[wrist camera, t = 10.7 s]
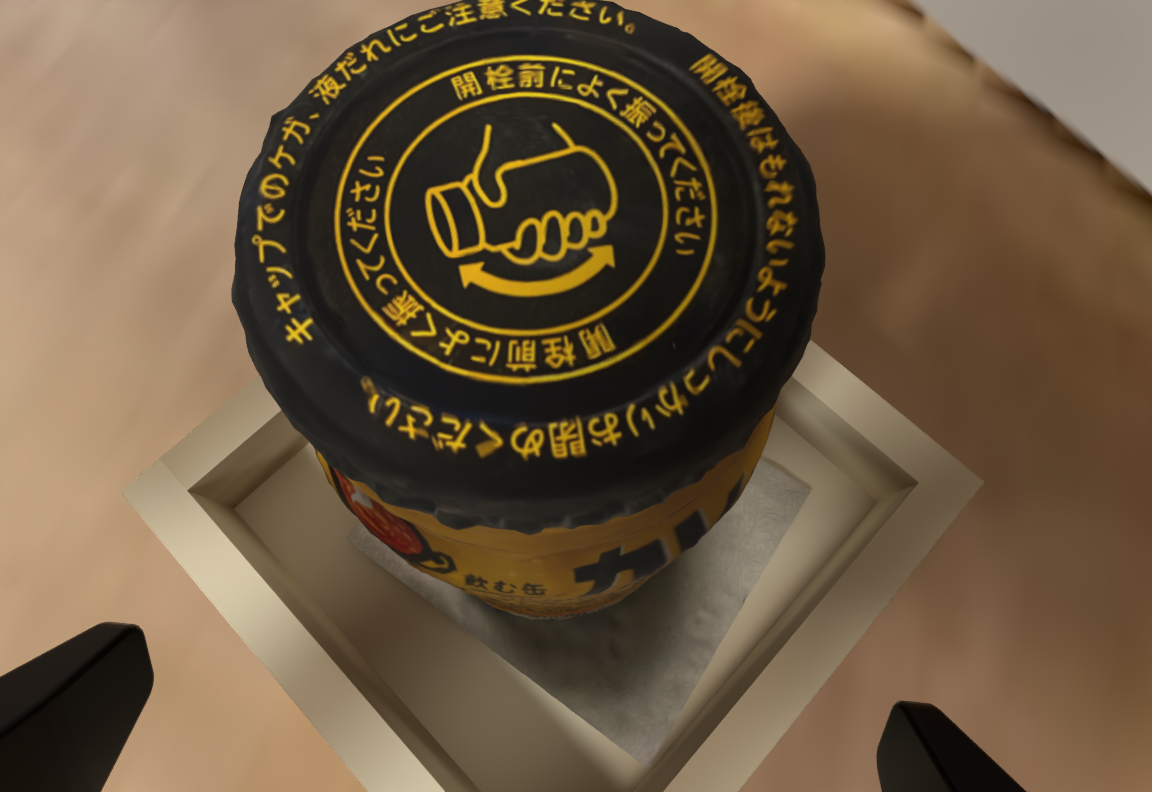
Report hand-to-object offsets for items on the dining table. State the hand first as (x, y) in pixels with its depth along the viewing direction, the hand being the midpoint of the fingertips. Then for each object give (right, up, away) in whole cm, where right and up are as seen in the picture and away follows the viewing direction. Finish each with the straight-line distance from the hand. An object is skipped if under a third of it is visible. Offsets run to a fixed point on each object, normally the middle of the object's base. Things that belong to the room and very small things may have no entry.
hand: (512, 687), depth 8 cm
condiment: (+1, +1, +9) cm, 9 cm away
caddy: (0, +1, +9) cm, 9 cm away
